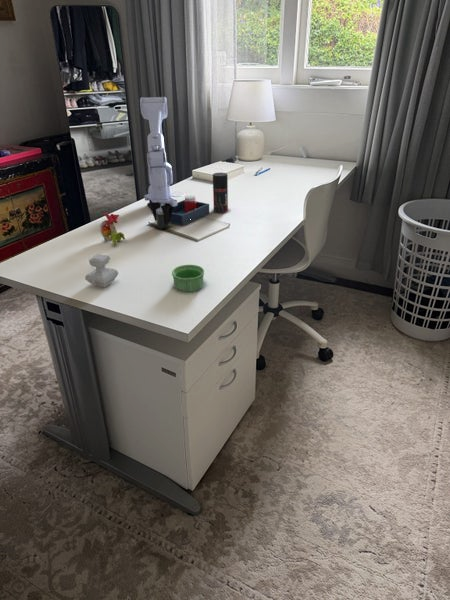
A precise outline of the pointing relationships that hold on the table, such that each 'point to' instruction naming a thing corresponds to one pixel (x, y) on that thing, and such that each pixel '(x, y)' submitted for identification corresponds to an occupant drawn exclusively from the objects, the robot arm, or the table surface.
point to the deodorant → (220, 192)
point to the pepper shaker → (160, 219)
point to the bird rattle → (110, 229)
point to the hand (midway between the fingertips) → (162, 221)
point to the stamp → (101, 271)
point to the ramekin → (188, 277)
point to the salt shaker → (190, 203)
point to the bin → (188, 213)
